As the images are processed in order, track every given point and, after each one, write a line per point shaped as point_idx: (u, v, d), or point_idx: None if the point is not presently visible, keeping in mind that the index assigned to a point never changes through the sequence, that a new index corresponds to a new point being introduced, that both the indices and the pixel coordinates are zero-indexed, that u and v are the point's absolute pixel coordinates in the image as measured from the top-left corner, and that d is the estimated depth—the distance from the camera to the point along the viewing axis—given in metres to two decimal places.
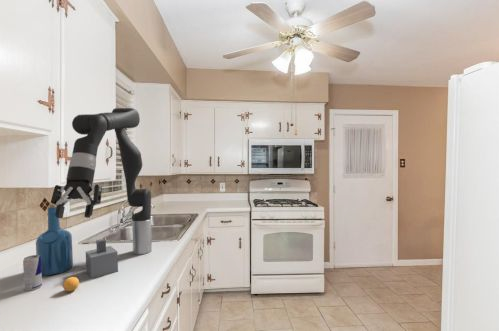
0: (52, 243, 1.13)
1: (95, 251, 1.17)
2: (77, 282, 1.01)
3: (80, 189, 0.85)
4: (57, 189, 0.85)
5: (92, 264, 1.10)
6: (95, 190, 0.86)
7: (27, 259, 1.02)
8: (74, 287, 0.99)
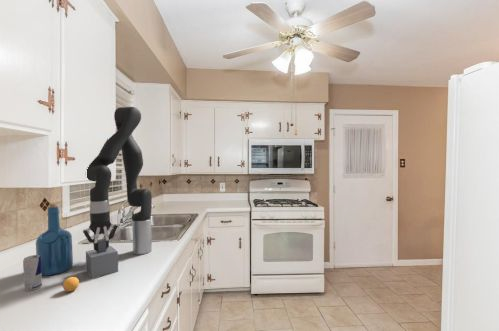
0: (52, 243, 1.13)
1: (95, 251, 1.17)
2: (77, 282, 1.01)
3: (105, 228, 1.16)
4: (87, 233, 1.12)
5: (92, 264, 1.10)
6: (114, 229, 1.19)
7: (27, 259, 1.02)
8: (74, 287, 0.99)
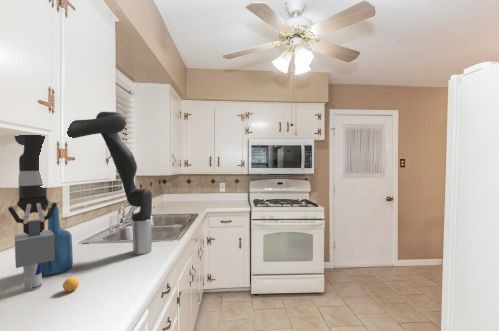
0: None
1: None
2: (77, 282, 1.01)
3: (39, 206, 0.93)
4: (13, 210, 0.89)
5: (17, 249, 0.86)
6: (52, 208, 0.96)
7: None
8: (74, 287, 0.99)
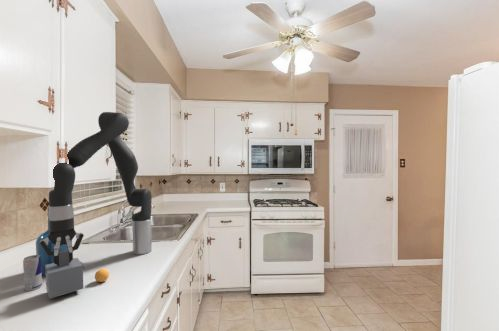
0: (52, 243, 1.13)
1: (56, 265, 0.99)
2: (99, 274, 1.05)
3: (68, 238, 0.98)
4: (45, 244, 0.94)
5: (50, 281, 0.92)
6: (79, 239, 1.01)
7: (27, 259, 1.02)
8: (104, 274, 1.06)
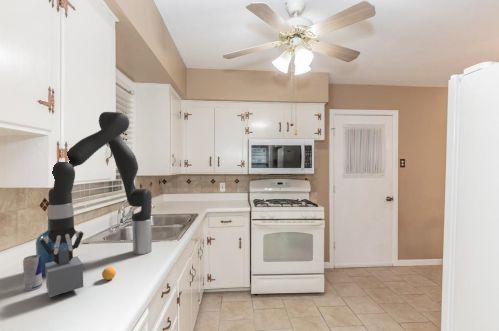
0: (52, 243, 1.13)
1: (56, 263, 0.99)
2: (110, 269, 1.08)
3: (68, 236, 0.98)
4: (45, 242, 0.94)
5: (50, 280, 0.92)
6: (79, 237, 1.01)
7: (27, 259, 1.02)
8: (113, 273, 1.08)
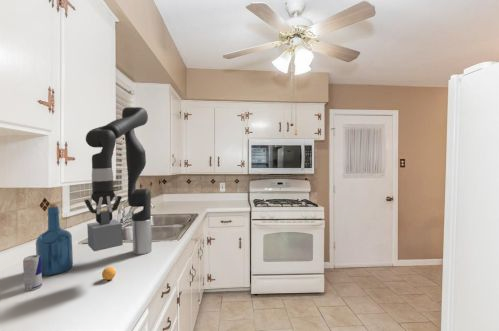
0: (52, 243, 1.13)
1: (98, 223, 1.08)
2: (110, 269, 1.08)
3: (109, 198, 1.07)
4: (89, 202, 1.03)
5: (94, 236, 1.01)
6: (118, 200, 1.10)
7: (27, 259, 1.02)
8: (113, 273, 1.08)
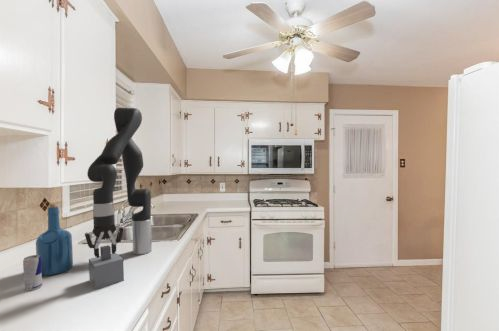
0: (52, 243, 1.13)
1: (99, 259, 1.08)
2: None
3: (110, 232, 1.08)
4: (89, 237, 1.03)
5: (96, 273, 1.01)
6: (120, 232, 1.11)
7: (27, 259, 1.02)
8: None
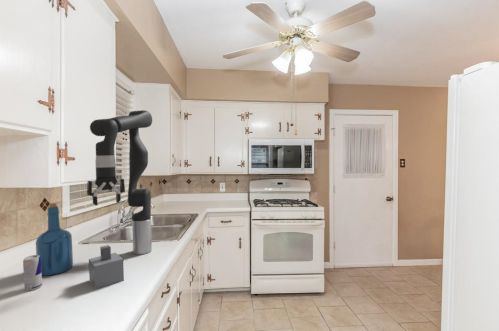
0: (52, 243, 1.13)
1: (99, 259, 1.08)
2: None
3: (112, 183, 1.14)
4: (91, 184, 1.10)
5: (96, 273, 1.01)
6: (122, 183, 1.18)
7: (27, 259, 1.02)
8: None
